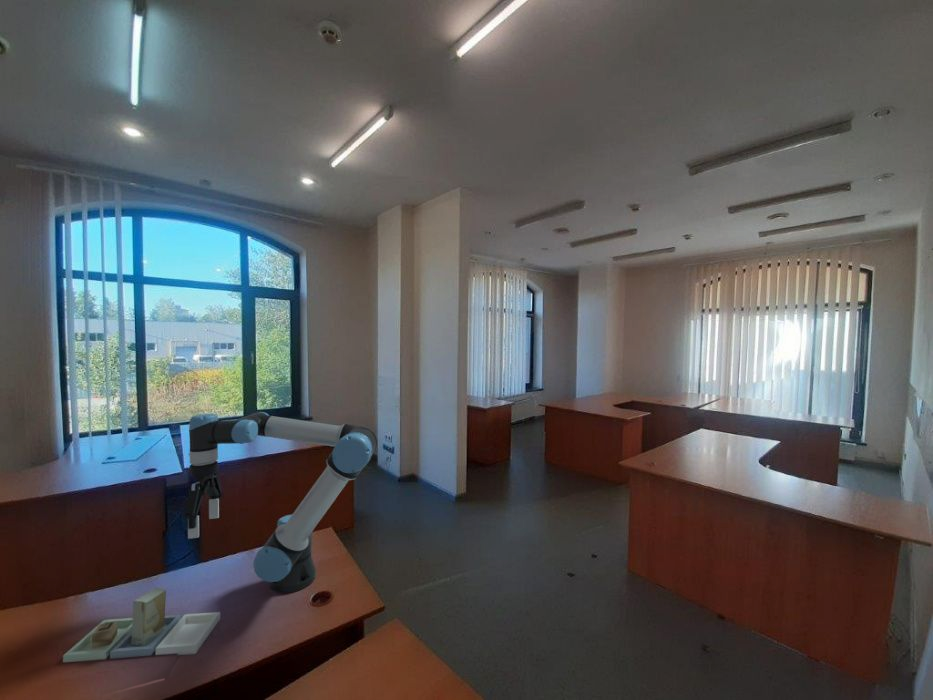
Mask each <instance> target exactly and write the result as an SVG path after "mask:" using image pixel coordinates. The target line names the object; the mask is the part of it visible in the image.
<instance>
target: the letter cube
mask: <svg viewBox="0 0 933 700" xmlns="http://www.w3.org/2000/svg"><path fill="white" fill-rule="evenodd" d="M99 624H100V623H99ZM99 624H98V625H99ZM98 625H97V626H98ZM97 626H96V627H97ZM117 629H118V621H114V622H109V623H104V624H100V625H99V626H98V627H97V629H96V630H95V631H94V633H93V634H92V649H93V648H98V647H102V646H107V645H110V644H111V643H112V642H113V640H114V639H115V637H116V636H117Z"/></svg>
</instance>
